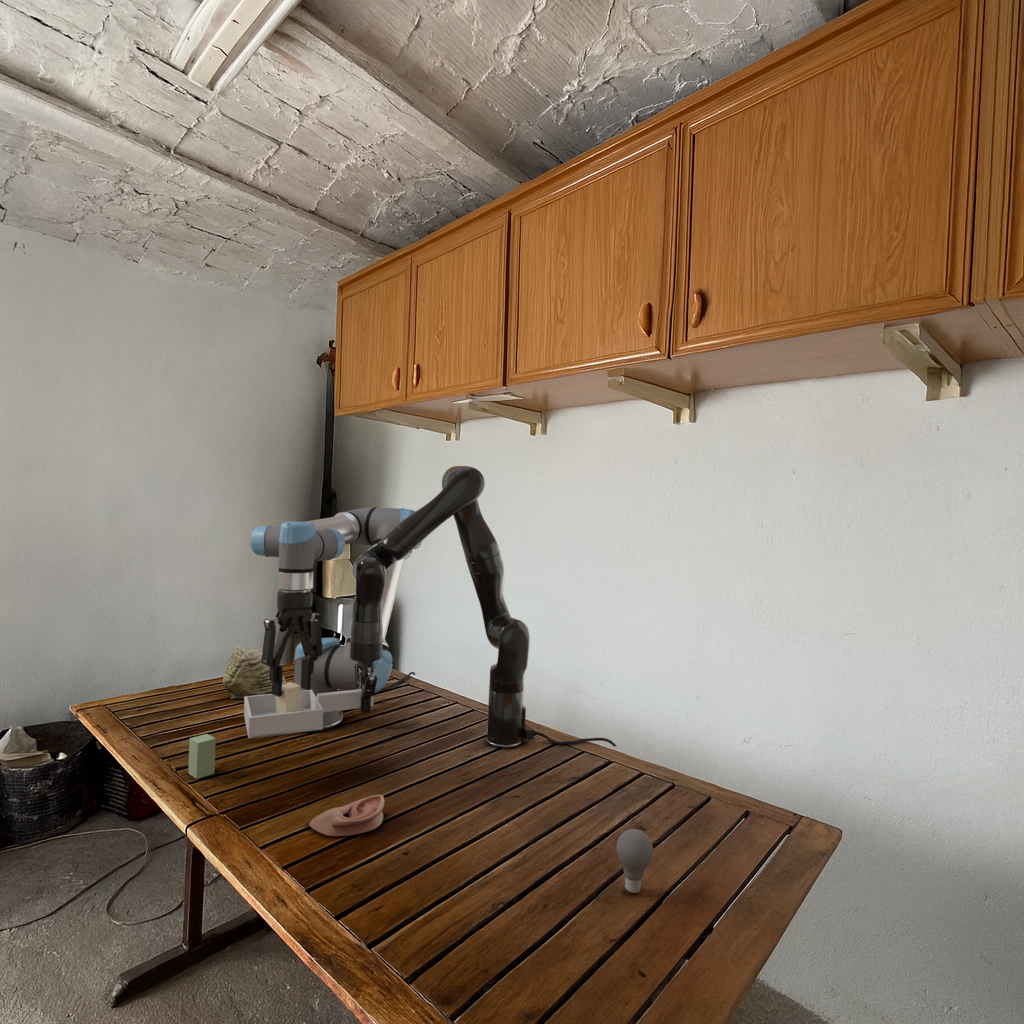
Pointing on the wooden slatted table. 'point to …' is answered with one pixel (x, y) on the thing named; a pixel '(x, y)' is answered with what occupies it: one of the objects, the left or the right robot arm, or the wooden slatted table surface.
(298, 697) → the block
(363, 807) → the anatomical model
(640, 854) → the light bulb
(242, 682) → the fossil
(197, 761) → the block
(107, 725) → the wooden slatted table surface
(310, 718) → the tray
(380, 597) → the right robot arm
